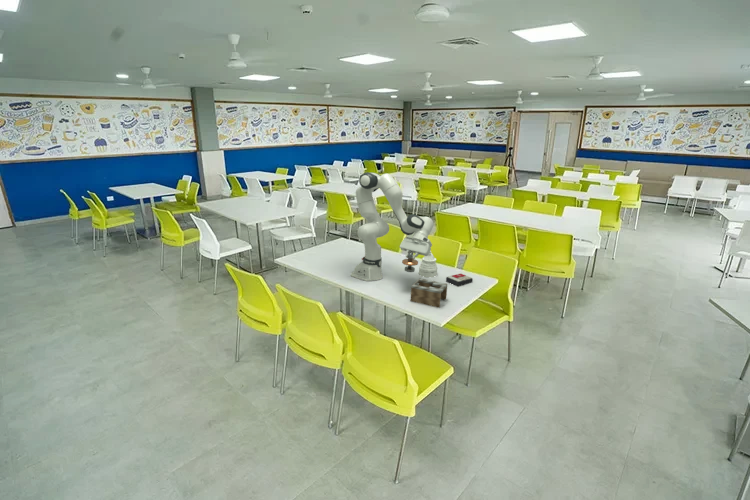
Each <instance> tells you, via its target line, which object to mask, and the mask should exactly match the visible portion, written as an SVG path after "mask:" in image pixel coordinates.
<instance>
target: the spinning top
mask: <svg viewBox="0 0 750 500" xmlns="http://www.w3.org/2000/svg"><path fill="white" fill-rule="evenodd" d="M412 256H414V253H412V252H409V253H408V258H405V259H402V262H401V263H402V264H403V265H404V271H405V272H406V273H414V272H415V270H416V269H415V267H414V266H417V265H418V264H419V260H417V259H412Z"/></svg>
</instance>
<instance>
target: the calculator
mask: <svg viewBox="0 0 750 500" xmlns="http://www.w3.org/2000/svg"><path fill="white" fill-rule="evenodd" d="M473 281H474V278H473V277H471V276H469V275H466V274H463V273H457V274H452V275H449V276H446V279H445V282H446V283H447V284H450V283H451V284H450V285H452V284H453V286H455V287H462V286H464V285H468V284H471V283H473Z"/></svg>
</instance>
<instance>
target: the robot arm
mask: <svg viewBox="0 0 750 500" xmlns="http://www.w3.org/2000/svg"><path fill="white" fill-rule="evenodd" d="M358 182H359V185H360V186H359V187H357V189H356V190H355V200H356V203H357V207H358V210H359V214H360V216H361V218H363V219H365V220H366V221H367V223H364V224H362V225H360V226H358V228H357V236H358V238H359V239H360V240H361V241H362V242H363V245H364V256H363V257H362V258H361V261H362V262H360V263H358V264H357V265H356V266H355V267H354V271H352V272H351V273H350V277H352V278H356V279H359V280H361V281H364V282H365V281H366V282H372V281H379V280H382V279H383V278H384V276H383V273H382V263H383V262H382V246H381V245H380V244H378V241H377V239H378V238H381V237H384V236H386V235H388V233H389V232H390V225H389V224H388V222H387V221H386V220H384V219H383V218H382V217H381V216H380V214H379V212H378V209H377V206H376V204H375V201H374V198H373V193H374V192H376V191H377V190H379V189H380V190H381V192H382V193H383V195H384V196H385V198H386V200H387V201H388V203H389V206H390V208H391V209H392V211H393V213H394V216H395V217H396V219H397V220H398V223H399V227H400V231H401V232H402V234H404V235H406V236H407V237H404V238H403V240H402V241H401V242H400V245H399V249H400V250H402V251H404V252H406V255H405V258H406V259H408V253H409V252H411V253H413V256H412V259H414V260H416V258H417V257H418V256H419V255H420V256H423V257H424V256H428V255H429V253H430V251H431V250H432V246H433V243H432V242H431V240H430V239H429V238H428V237H429V235H431V232H432V231H433V227H434V221H433V219H432V218H431V217H429V216H419V215H417V214H414V213H412V214H410V215H408V216H407V215H406V212H405V210H404V209H403V205H402V200H403V191H402V189H401V187H400V185H399V183H397V181H396V179H395V178H394V177H393V176H392V175H391V174H390V173H383V174H379V173H376V172H369V171H368V172H367V171H366V172H364V173H362V174H360V177H359V179H358ZM411 235H413V236H412V237H409V236H411Z"/></svg>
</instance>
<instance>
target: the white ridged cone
mask: <svg viewBox="0 0 750 500" xmlns="http://www.w3.org/2000/svg"><path fill="white" fill-rule="evenodd" d="M436 261H437V258H436V257H435V256H434V254H433V253H432V251H431V250H430V253H429V255H428V256H424V255H423V257H422V258H421V262H420V265H419V268H418V275H419V274H420V275H421V277H423V276H424V278H429V277H431V278H435V277H434V276H436V275H437V276H438V266H437V262H436ZM420 275H419V276H420ZM437 276H436V277H437Z"/></svg>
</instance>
